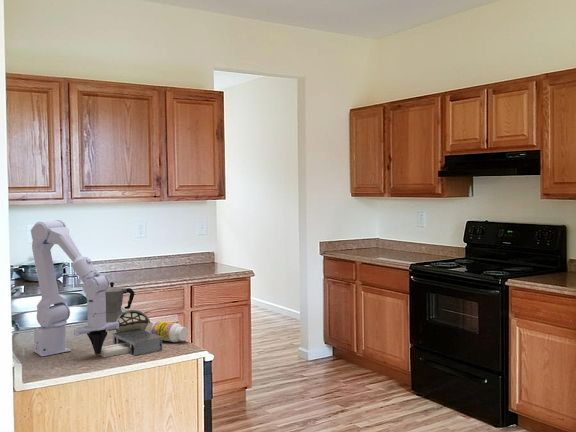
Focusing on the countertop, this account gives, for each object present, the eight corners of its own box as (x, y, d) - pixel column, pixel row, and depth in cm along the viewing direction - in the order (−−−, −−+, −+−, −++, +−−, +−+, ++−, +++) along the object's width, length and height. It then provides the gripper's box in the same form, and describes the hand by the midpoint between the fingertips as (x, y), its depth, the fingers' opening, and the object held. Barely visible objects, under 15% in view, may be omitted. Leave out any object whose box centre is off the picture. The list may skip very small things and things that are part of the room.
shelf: (135, 355, 188) (134, 342, 188) (113, 345, 200) (113, 333, 199) (162, 349, 194) (162, 337, 194) (139, 340, 206) (139, 328, 206)
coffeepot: (92, 330, 221) (91, 284, 220) (99, 324, 231) (98, 280, 230) (131, 330, 221) (131, 284, 220) (138, 324, 231) (137, 280, 230)
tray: (104, 357, 186) (104, 351, 186) (96, 353, 190) (95, 347, 190) (138, 350, 194) (138, 344, 194) (129, 346, 199) (129, 341, 198)
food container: (140, 323, 215) (146, 306, 209) (145, 336, 211) (151, 319, 205) (107, 328, 208) (112, 311, 202) (111, 342, 204) (117, 324, 199)
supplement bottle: (154, 317, 208) (182, 321, 202) (164, 325, 213) (192, 328, 207) (147, 334, 204) (175, 338, 198) (157, 342, 209) (185, 346, 203)
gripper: (79, 317, 179) (80, 360, 180) (123, 311, 189) (123, 351, 189) (70, 314, 184) (71, 355, 185) (113, 307, 194) (114, 347, 195)
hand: (97, 353), depth 187 cm, fingers closed
